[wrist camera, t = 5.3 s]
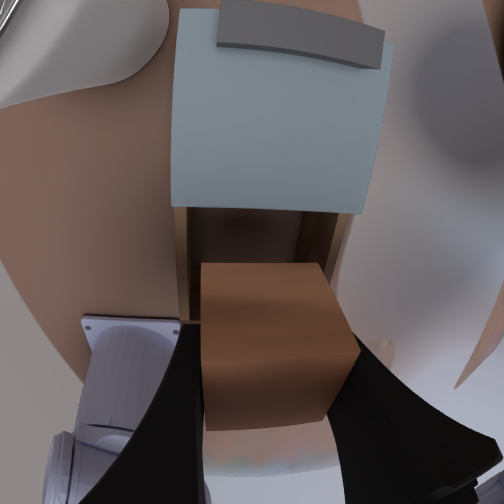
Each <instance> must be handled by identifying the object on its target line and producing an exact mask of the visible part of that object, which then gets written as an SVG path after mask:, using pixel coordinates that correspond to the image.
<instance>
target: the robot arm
mask: <svg viewBox="0 0 504 504" xmlns="http://www.w3.org/2000/svg"><path fill="white" fill-rule="evenodd" d="M81 324H82V327H83V330H84V332H85V335H86V338H87V340H88V343H89V345H90V348H91V350H92V355H91V359H90V362H89V366H88V370H87V374H86V378H85V382H84V386H83V390H82V394H81V399H80V403H79V408H78V413H77V417H76V422H75V428H74V431H73V433H72V434H71V433H69V432H66V431H62V433H61V434H58V435H55V436H54V437H53V440H52V443H51V447H50V451H49V456H48V460H47V465H46V471H45V477H44V485H43V495H42V504H211V497H210V492H209V489H208V487H207V485H206V483H205V481H204V474H203V460H202V441H203V420H204V399H203V385H202V369H201V324H183V325H182V326H180V321H179V320H167V319H137V318H116V317H99V316H83V317H82V319H81ZM174 330H178V331H174ZM352 333H353V332H352ZM353 335H354V337H355V339H356V341H357V343H358V345H359V348H360V350H361V351H360V353H359V355H358V357H357V359H356V361H355V363H354V365H353V367H352V369H351V371H350V373H349V375H348V376H347V378H346V380H345V382H344V384H343V386H342V387H341V389H340V391H339V393H338V395H337V396H336V398H335V400H334V402H333V403H332V405H331V407H330V408H329V410H328V412H327V416H328V419H329V422H330V425H331V428H332V431H333V434H334V438H335V442H336V446H337V451H338V456H339V461H340V466H341V473H342V479H343V486H344V495H345V504H504V470H503V471H502V472H499V473H498V474H496V475H495V476H493V477H491V478H490V479H489V480H487V481H486V482H484V483H483V484H481V485H480V486H478V487H477V488H476V490H475V489H474V487H475V486H477V485H478V481H477V479H476V478H478V477H479V476H481V475H482V474H484V473H485V472H487V471H488V470H490V469H491V468H492V467H494V466H495V465H497V464H498V463H500V462H501V461H502V459H503V456H502V453H501V451H500V449H499V447H498V445H497V443H496V441H495V439H493V438H491V437H488V436H486V435H483V434H481V433H479V432H476V431H474V430H472V429H470V428H468V427H466V426H464V425H462V424H460V423H458V422H456V421H455V420H453V419H451V418H450V417H448V416H446V415H445V414H443V413H442V412H440V411H439V410H437V409H436V408H434V407H433V406H431V405H430V404H428V403H427V402H426V401H424V400H423V399H422V398H421V397H419V396H418V395H417V394H416V393H414V392H413V391H412V390H410V389H409V388H408V387H407V386H406V385H405V384H403V383H402V382H401V381H400V380H399V379H398V378H397V377H396V376H395V375H394V374H392V373H391V371H389V370H388V369H387V368H386V367H385V366H384V365H383V364H382V363H381V362H380V361H379V360H378V359H377V358H376V356H375V355H374V354H373V353H372V352H371V351H370V350H369V349H368V348H367V347H366V346H365V345H364V344H363V343H362V342H361V341H360V339H359V338H358V337H357V336H356V335H355V334H354V333H353Z"/></svg>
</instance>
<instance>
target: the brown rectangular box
mask: <svg viewBox="0 0 504 504" xmlns="http://www.w3.org/2000/svg"><path fill="white" fill-rule="evenodd" d="M348 215H349V213H334V212H317V211H304V213H303V219H302V224H301V229H300V234H299V240H298V245H297V250H296V255H295V260H294V263H318V264H319V266H320V268H321V270H322V272H323V273H324V275H325V277H326V279H327V281H328V283H329V284H330V281H331V278H332V274H333V271H334V267H335V264H336V260H337V257H338V253H339V249H340V246H341V242H342V238H343V235H344V231H345V227H346V223H347V219H348ZM174 218H175V249H176V270H177V287H178V302H179V315H180V326H182V325H183V324H201V269H192V207H174Z"/></svg>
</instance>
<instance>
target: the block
mask: <svg viewBox="0 0 504 504" xmlns="http://www.w3.org/2000/svg"><path fill="white" fill-rule="evenodd" d="M360 351H361V350H360V348H359V345H358V343H357V341H356V339H355V337H354V335H353V333H352V330H351V329H350V326H349V324H348V322H347V320H346V318H345V316H344V314H343V312H342V310H341V308H340V306H339V304H338V301H337V299H336V297H335V295H334V293H333V291H332V289H331V287H330V285H329V283H328V281H327V279H326V277H325V275H324V273H323V272H322V270H321V268H320V266H319V264H318V263H201V369H202V385H203V399H204V412H205V424H206V431H224V430H245V429H259V428H270V427H280V426H289V425H297V424H304V423H311V422H318V421H322V420H323V418H324V417H325V415H326V413H327V412H328V410H329V408H330V407H331V405H332V403H333V402H334V400H335V398H336V396H337V395H338V393H339V391H340V389H341V387H342V386H343V384H344V382H345V380H346V378H347V376H348V375H349V373H350V371H351V369H352V367H353V365H354V363H355V361H356V359H357V357H358V355H359V353H360Z"/></svg>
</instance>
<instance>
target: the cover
mask: <svg viewBox="0 0 504 504" xmlns="http://www.w3.org/2000/svg"><path fill="white" fill-rule="evenodd" d="M384 34H385V31H383V30H380V29H377V28H374V27H371V26H368V25H365V24H362V23H359V22H355V21H352V20H348V19H345V18H341V17H337V16H333V15H329V14H325V13H321V12H316V11H312V10H307V9H302V8H297V7H291V6H285V5H279V4H272V3H264V2H256V1H246V0H222V2H221V9H180V13H179V22H178V32H177V42H176V54H175V67H174V81H173V99H172V125H171V207H221V208H253V209H278V210H299V211H317V212H334V213H349V214H362V210H363V207H364V202H365V199H366V195H367V191H368V187H369V182H370V178H371V174H372V170H373V165H374V161H375V156H376V151H377V147H378V142H379V137H380V132H381V127H382V121H383V116H384V110H385V104H386V99H387V92H388V86H389V79H390V72H391V64H392V57H393V49H394V44H392V43H389V42H386V41H384Z"/></svg>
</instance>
